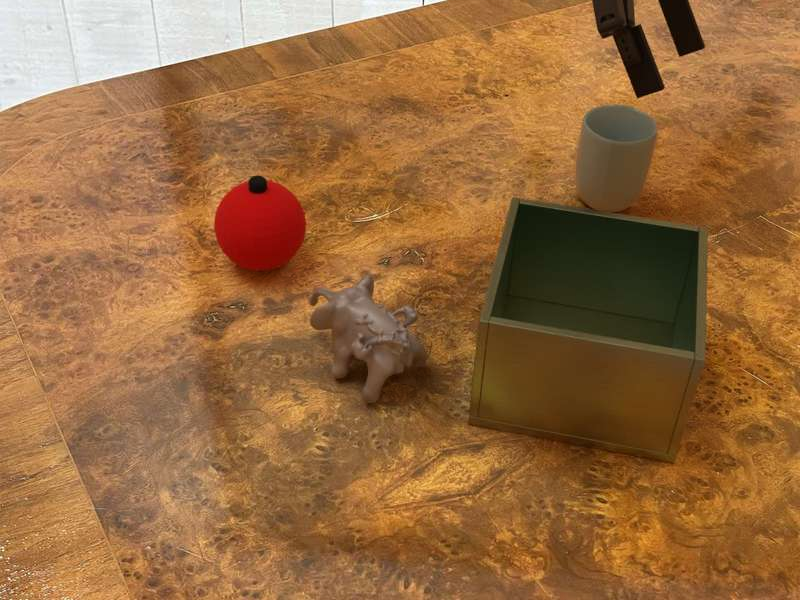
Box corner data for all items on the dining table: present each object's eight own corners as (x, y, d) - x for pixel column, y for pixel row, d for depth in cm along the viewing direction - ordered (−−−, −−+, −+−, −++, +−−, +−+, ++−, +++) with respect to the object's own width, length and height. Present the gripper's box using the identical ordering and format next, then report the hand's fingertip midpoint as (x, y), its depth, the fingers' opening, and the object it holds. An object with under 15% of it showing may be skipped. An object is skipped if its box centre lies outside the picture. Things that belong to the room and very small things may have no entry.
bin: (680, 327, 102) (708, 227, 95) (674, 463, 89) (705, 360, 82) (499, 296, 105) (511, 196, 97) (467, 424, 92) (478, 320, 84)
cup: (594, 228, 114) (609, 149, 108) (557, 189, 119) (569, 111, 113) (654, 213, 117) (672, 134, 110) (615, 175, 122) (630, 98, 115)
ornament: (258, 223, 113) (253, 143, 106) (325, 256, 109) (323, 174, 103) (199, 265, 107) (189, 183, 101) (267, 301, 103) (261, 218, 97)
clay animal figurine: (395, 418, 92) (397, 353, 87) (273, 375, 96) (269, 311, 91) (436, 352, 99) (441, 288, 94) (321, 314, 102) (319, 251, 97)
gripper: (606, -139, 113) (675, 48, 119) (507, -94, 95) (595, 124, 101) (671, -170, 109) (740, 25, 114) (580, -130, 90) (668, 100, 96)
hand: (672, 72), depth 107 cm, fingers open, 13 cm apart
